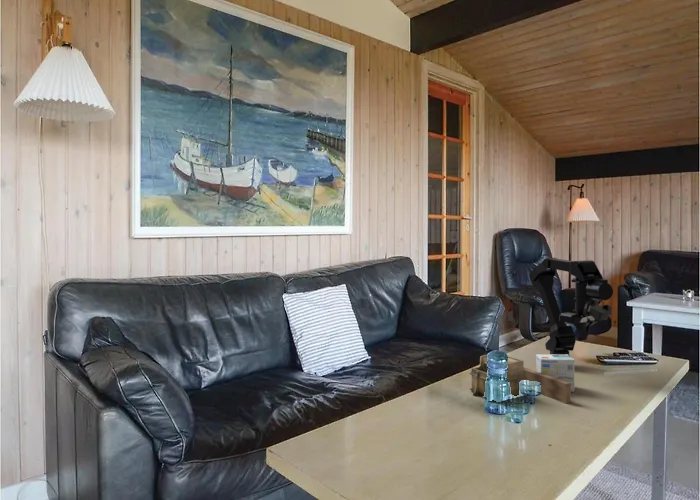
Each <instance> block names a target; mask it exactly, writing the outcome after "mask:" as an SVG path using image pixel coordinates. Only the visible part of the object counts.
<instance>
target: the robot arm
mask: <svg viewBox="0 0 700 500" xmlns="http://www.w3.org/2000/svg"><path fill="white" fill-rule="evenodd" d="M557 270H558V271H563V272H568V273H569V274H570V275H571V276H573V278H572V279H571V280H570V281H571V283H575V285H574V288H575V289H574V291H575V297H574V298H572V302H574V305H575V306H574V308H575V309H572V312H568V311H567V312H562V311H561V309H560V306H559V303H558V300H557V297H556V294H555V292H554V289H553V287H554V284H555V279H554V278H555V276H556V275H557ZM529 280H530V282H531V285H532V286H533V288H535V289H536V290H537V291H538V292H539V294H540V298H541V300H542V303H543V306H544V310H545V312H546V315H547V318H548V322H549V324H550V329H549V332H548V335H549V336H548V337H549V339H547V341H546V342H545V344H544V345H545V350H547V351H548V352H549V354H554V355H566V354H568V355H569V356H570V357H571V355H570V351H571V352H572V351H574V349H575V345H576V342H577V341H576V336H577V335H576V334H575V331H574V328H573V326H574V327H575V328H576V330H577V332H578V334H579V337H580V339H581V340H582V341H587V339H588V337H589V334H590V332H591V328H592V327H593V325H594V324H596V323H598V321H600V322H602V321H607V320H608V319H609V318H610V316H611V315H612V306H611V305H609V304H604V305H599V304H598V302H597V300H602V301H608V300H610V299H611V298H612V297H613V295H614V290H613V287H612V285H611V284H610V283H608V279H605V278H603V275H602V273H601V272H600V269H599V268H598V265H597V264H596V262H595V261H594V260H591V259H590V260H568V259H561V258H557V257H546V258H544V259H543V260H542V261H541V262H540V263H539V264H537V265H536V266H534V267H533V268H532V270H531V272H530V273H529ZM566 323H567V324H573V326H572V325H567V324H566Z"/></svg>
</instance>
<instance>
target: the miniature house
mask: <svg viewBox="0 0 700 500" xmlns="http://www.w3.org/2000/svg"><path fill="white" fill-rule="evenodd" d="M487 355H488V354H483V355H481V356H480V357H479V365H478V366H476V367H471V370H470V372H469V375H470V376H471V387H470V388H469V390H470V391H471V393H472V397H473V396H474V397H478V396H479V395H480V396H479V397H482V396H484V392H485V381H486V377H487ZM506 356H507V357H508V372H507V378H508V380H509V382H510V387H511V394H512V395H514V396H517V395H519V382H520V381H521V380H524V378H526V377H525V376H524V368H525V367H524V360H522V359H518V358H516V357H512V356H509V355H506ZM477 395H478V396H477Z"/></svg>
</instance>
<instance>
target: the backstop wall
mask: <svg viewBox="0 0 700 500" xmlns="http://www.w3.org/2000/svg"><path fill="white" fill-rule="evenodd" d="M524 376H525V377H526V378H524V380H529V381H538V382H540V383H541V393H542V394H541V395H542V396H545V397H547V398H549V399H550V398H551V399H553V400H556V401H559V402H561V403H563V404H570V403H571V401H572V400H571V397H572V396H571V395H572V392H571V383H569V382H566V381H563V380H560V379H557V378H554V377H551V376H548V375H545V374H542V373H539V372H536V370H532V369H530V368H526V367H524Z"/></svg>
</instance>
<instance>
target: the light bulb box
mask: <svg viewBox="0 0 700 500" xmlns="http://www.w3.org/2000/svg"><path fill="white" fill-rule="evenodd" d="M569 355H570V354H569ZM569 355H568V354H566V355H554V354H550V353H548V354H539V353H538V354H537V353H536V354H535V356H536V357H535V359H536V360H535V362H536V363H535V364H536V366H535V367H536V370H535V371H536V372H539V373H542V374H545V375H548V376H551V377H554V378H557V379H560V380H563V381H566V382H569V383H571V393H573V392H574V393H575V359H574V358H573V357H572V356H571V355H570V356H569Z"/></svg>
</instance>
